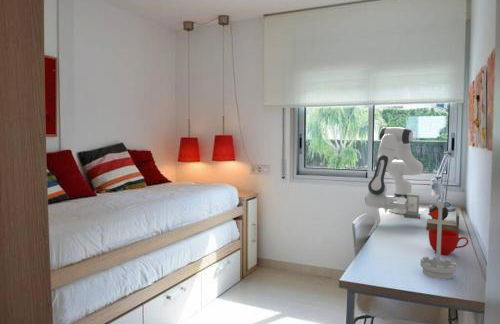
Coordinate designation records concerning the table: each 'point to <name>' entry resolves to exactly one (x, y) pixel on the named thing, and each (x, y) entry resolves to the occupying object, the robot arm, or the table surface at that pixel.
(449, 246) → the ceramic cup
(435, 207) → the alarm clock
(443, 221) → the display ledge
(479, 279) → the table surface
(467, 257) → the table surface
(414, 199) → the green pillar on base
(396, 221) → the table surface
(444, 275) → the flag stand
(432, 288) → the table surface
